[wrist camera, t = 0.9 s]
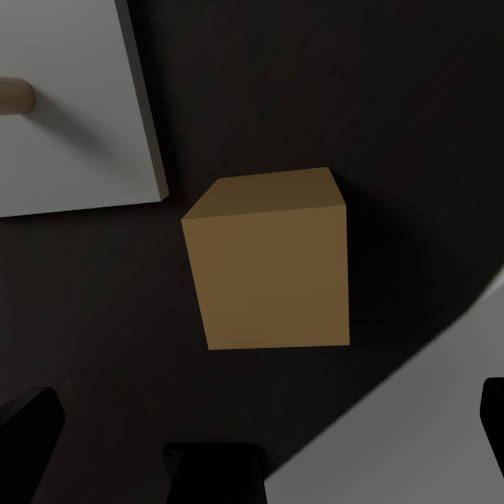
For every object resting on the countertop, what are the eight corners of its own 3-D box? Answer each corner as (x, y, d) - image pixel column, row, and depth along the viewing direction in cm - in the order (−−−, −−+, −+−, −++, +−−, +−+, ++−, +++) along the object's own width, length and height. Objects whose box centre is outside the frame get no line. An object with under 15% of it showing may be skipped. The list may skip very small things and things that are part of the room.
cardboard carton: (332, 268, 18) (349, 344, 12) (234, 274, 19) (208, 349, 13) (328, 166, 16) (345, 204, 10) (218, 178, 17) (181, 219, 11)
